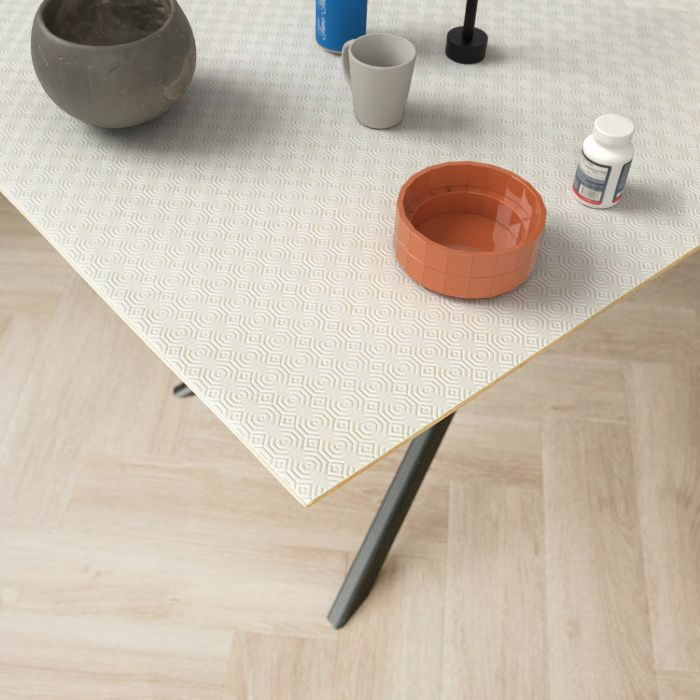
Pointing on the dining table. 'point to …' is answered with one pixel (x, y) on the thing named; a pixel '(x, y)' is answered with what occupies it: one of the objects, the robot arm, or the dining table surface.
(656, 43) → the dining table surface
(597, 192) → the pill bottle
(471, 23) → the black plunger
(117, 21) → the bowl
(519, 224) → the mixing bowl
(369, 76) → the cup
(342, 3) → the beverage can
